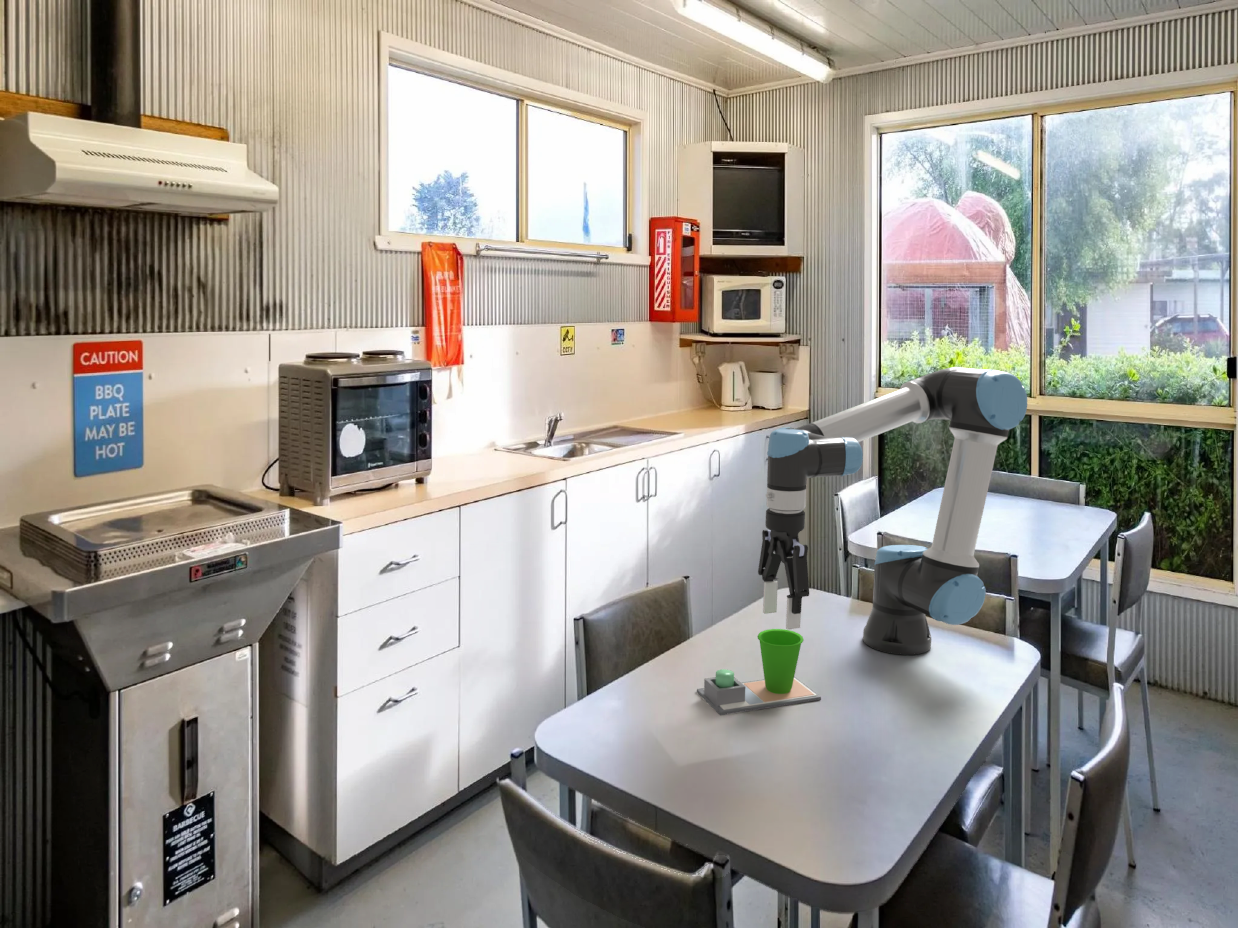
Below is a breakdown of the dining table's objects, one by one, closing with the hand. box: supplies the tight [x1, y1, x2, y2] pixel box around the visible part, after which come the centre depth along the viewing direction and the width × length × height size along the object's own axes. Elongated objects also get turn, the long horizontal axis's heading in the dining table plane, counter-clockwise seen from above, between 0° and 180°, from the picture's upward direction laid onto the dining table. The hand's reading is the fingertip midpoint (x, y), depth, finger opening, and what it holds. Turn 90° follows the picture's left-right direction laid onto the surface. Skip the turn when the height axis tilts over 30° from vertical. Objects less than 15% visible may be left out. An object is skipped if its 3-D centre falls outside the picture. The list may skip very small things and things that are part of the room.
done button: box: [715, 668, 735, 689], centre depth 175 cm, size 4×4×3 cm
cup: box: [757, 628, 804, 694], centre depth 178 cm, size 9×9×11 cm
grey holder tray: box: [696, 675, 822, 716], centre depth 177 cm, size 22×11×4 cm, turn 109°
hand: (781, 619), depth 177 cm, fingers open, 9 cm apart
